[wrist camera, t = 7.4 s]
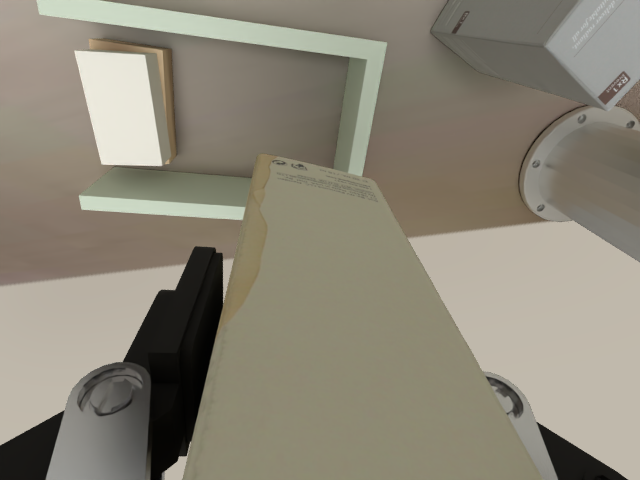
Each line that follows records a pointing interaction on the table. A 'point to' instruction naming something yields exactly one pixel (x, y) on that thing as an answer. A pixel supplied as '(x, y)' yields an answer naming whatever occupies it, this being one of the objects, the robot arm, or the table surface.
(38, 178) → the table surface
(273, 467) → the skincare box
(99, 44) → the offcut lower
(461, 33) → the skincare box
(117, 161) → the offcut upper
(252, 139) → the table surface
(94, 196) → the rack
